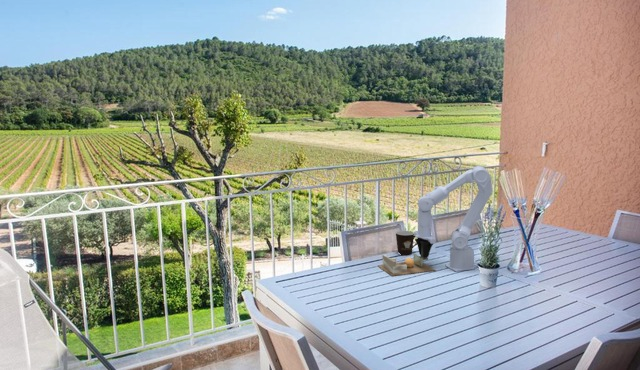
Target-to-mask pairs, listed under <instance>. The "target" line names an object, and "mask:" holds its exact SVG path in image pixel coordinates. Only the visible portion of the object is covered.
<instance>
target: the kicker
mask: <svg viewBox="0 0 640 370" xmlns="http://www.w3.org/2000/svg"><path fill="white" fill-rule="evenodd" d="M413 260H414V263H415V264H417V265H419V266H423V263H424V262H423V261H428V260H429V256H428V257H423V250H422V245H421V255H418V254H416V253H414V254H413Z"/></svg>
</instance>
